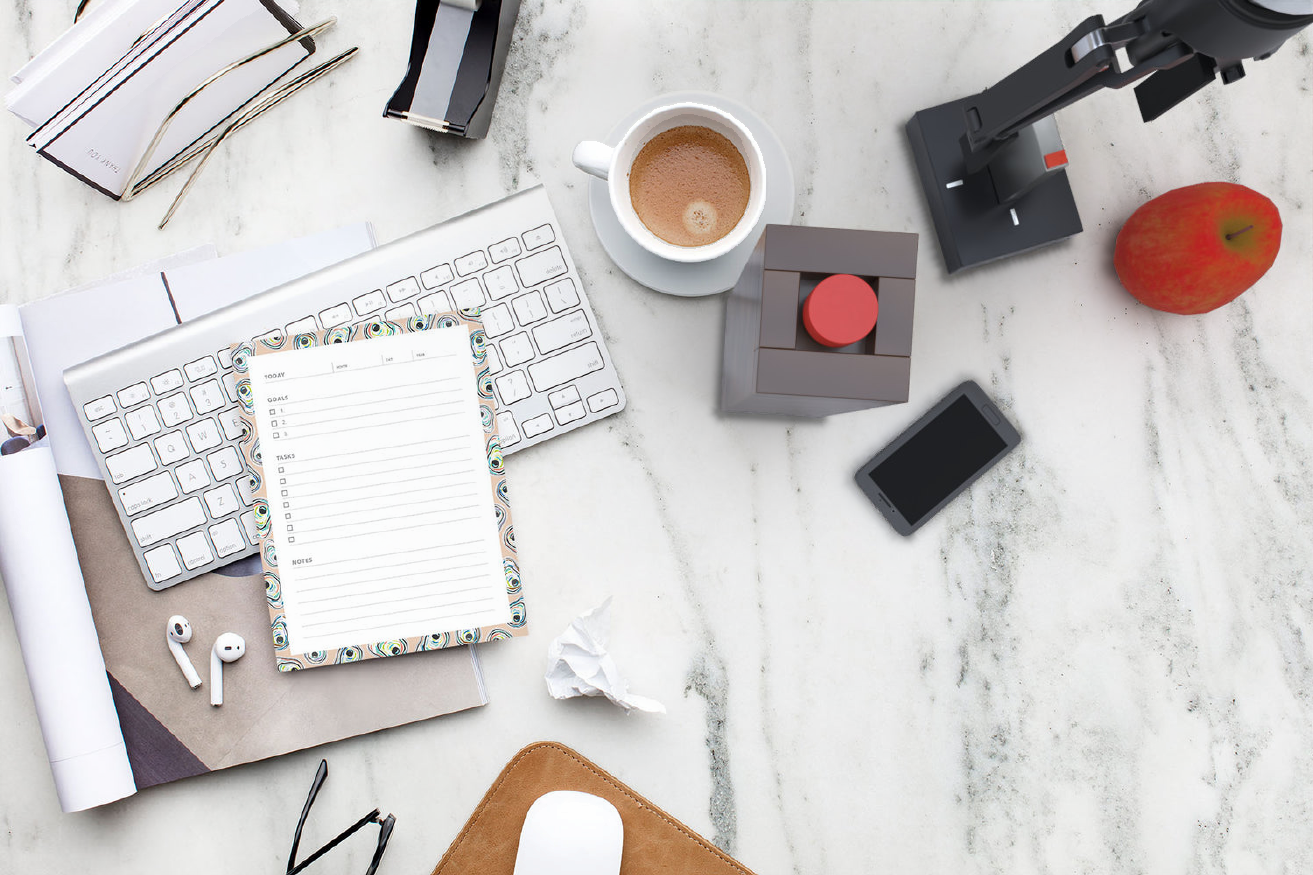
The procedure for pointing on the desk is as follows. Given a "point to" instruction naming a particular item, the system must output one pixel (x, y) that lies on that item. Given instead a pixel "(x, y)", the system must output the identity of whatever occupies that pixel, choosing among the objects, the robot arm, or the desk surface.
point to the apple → (1197, 247)
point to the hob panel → (982, 197)
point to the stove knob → (1028, 160)
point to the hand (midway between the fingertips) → (1055, 130)
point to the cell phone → (937, 458)
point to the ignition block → (778, 344)
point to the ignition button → (840, 310)
